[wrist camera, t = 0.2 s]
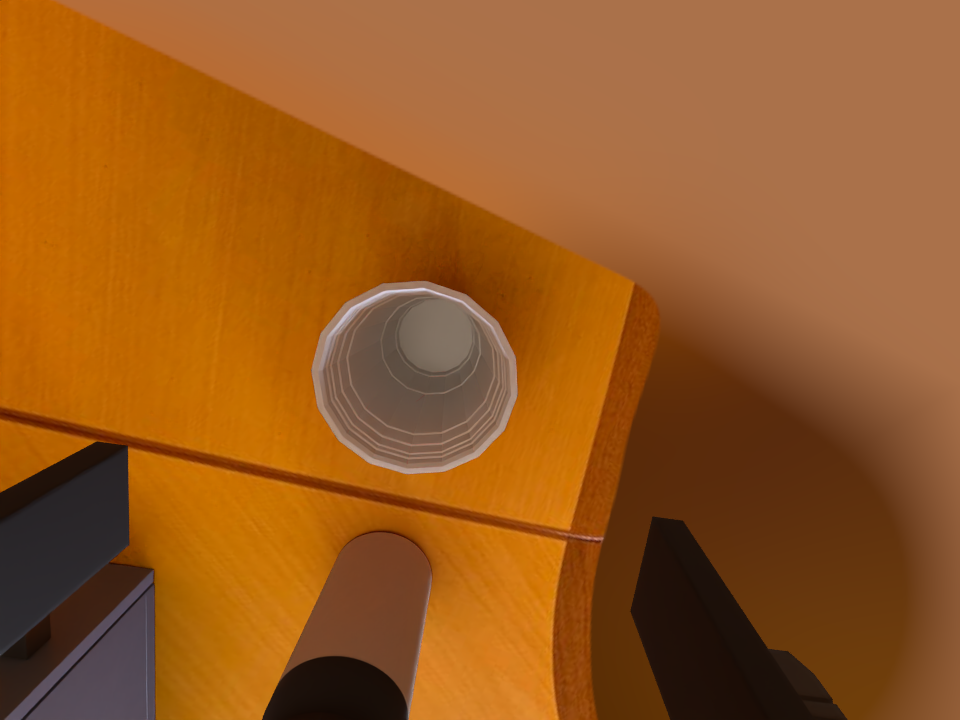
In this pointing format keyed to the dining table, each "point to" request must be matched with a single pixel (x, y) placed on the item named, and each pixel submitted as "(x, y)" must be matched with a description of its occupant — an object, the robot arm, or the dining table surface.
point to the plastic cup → (414, 377)
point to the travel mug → (360, 637)
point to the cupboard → (109, 673)
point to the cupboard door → (66, 636)
